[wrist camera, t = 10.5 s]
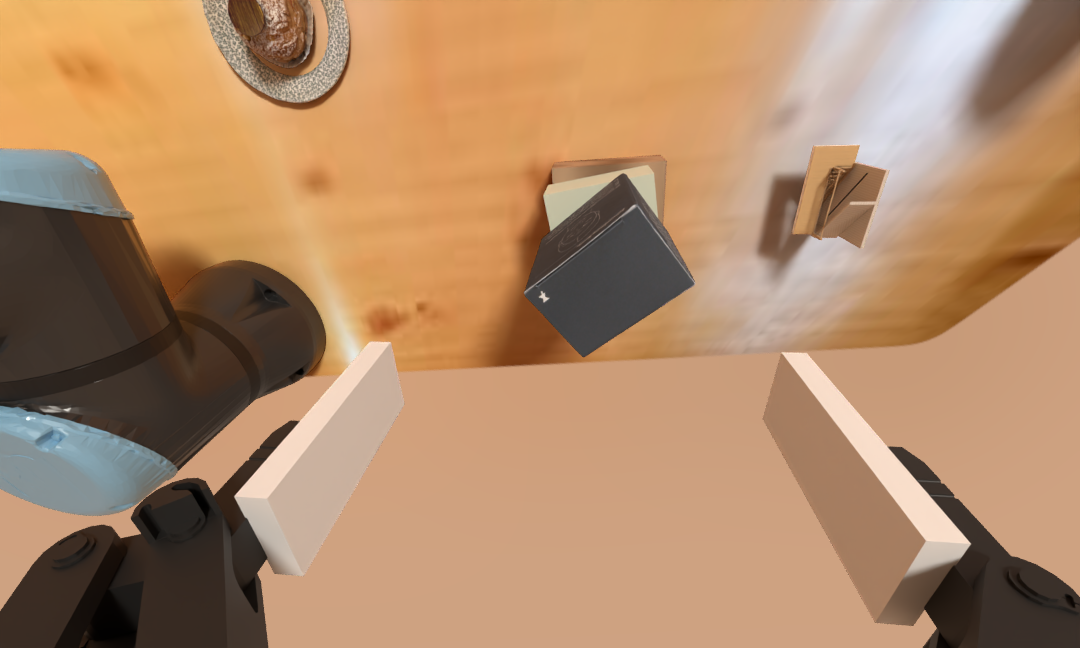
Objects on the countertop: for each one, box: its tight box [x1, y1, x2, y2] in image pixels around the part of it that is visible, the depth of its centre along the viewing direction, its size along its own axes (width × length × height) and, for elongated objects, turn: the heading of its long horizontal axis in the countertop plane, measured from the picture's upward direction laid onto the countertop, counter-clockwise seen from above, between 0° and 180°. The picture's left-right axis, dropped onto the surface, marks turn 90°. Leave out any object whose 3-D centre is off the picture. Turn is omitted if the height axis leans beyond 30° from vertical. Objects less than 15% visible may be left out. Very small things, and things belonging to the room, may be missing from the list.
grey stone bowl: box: [202, 0, 350, 103], centre depth 33 cm, size 12×12×5 cm
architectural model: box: [792, 145, 890, 248], centre depth 33 cm, size 3×7×7 cm, turn 2°
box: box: [524, 173, 695, 357], centre depth 28 cm, size 8×6×11 cm
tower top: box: [543, 165, 658, 231], centre depth 34 cm, size 8×8×4 cm
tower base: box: [552, 155, 667, 224], centre depth 37 cm, size 9×9×4 cm
